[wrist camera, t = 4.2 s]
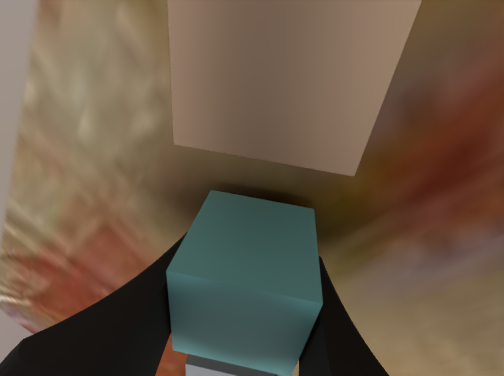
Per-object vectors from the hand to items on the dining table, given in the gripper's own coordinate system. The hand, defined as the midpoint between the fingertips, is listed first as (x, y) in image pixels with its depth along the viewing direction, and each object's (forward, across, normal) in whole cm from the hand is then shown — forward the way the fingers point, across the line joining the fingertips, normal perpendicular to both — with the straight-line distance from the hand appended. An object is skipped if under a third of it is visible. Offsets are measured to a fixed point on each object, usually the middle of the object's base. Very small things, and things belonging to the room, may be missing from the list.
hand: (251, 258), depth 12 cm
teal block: (+1, 0, 0) cm, 1 cm away
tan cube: (+3, 0, -9) cm, 9 cm away
